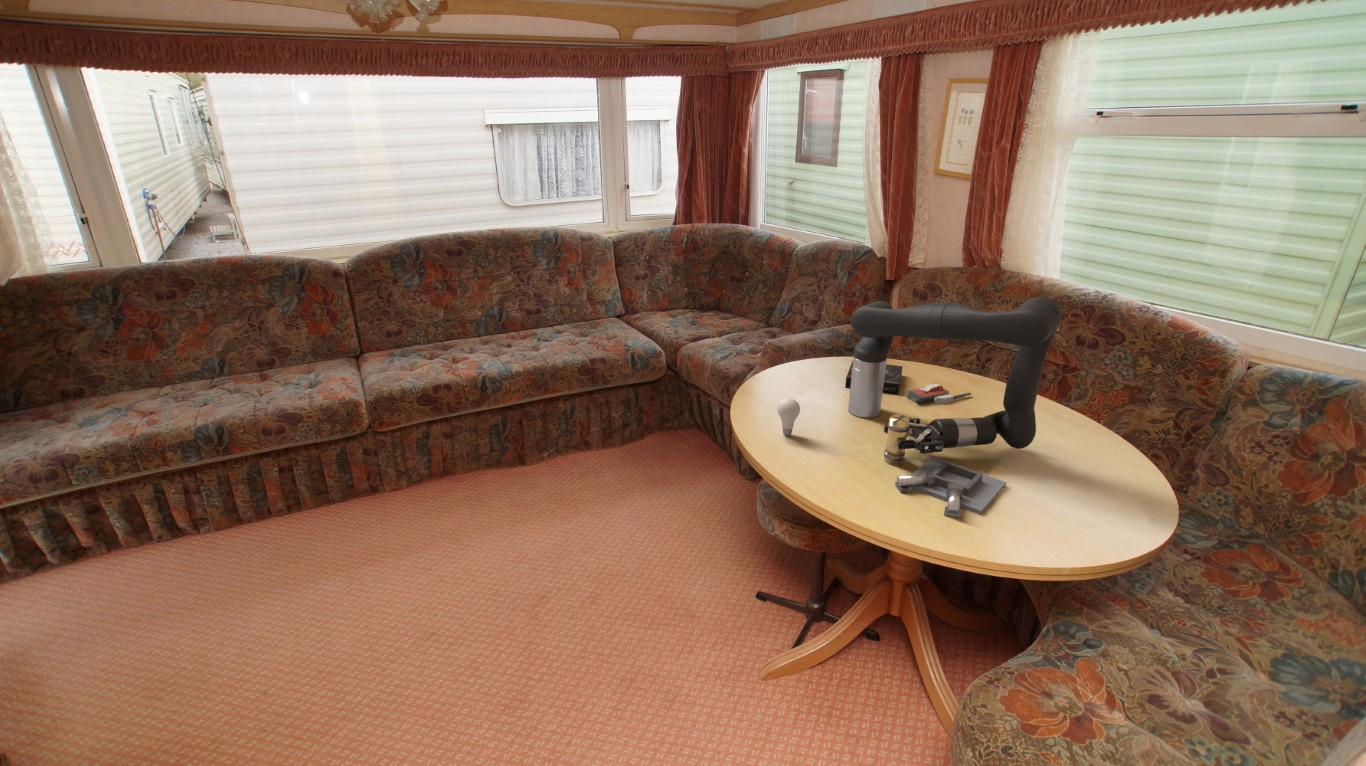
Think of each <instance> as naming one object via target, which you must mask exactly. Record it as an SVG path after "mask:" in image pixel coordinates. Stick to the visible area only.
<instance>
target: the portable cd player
mask: <svg viewBox="0 0 1366 766" xmlns="http://www.w3.org/2000/svg"><path fill="white" fill-rule="evenodd" d="M852 368H853V360H852V362H851V364H850V365H849V369H848V372H847V375H846V377H845V387H844V388H845V389H850V387H851V377H852ZM902 375H903V366H902V365H895V364H887V363H886V370H885V378H884V386H883V394H889V395H896V396H897V395H899V392H900V388H901V387H900V386H901V381H902Z"/></svg>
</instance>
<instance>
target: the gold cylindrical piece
mask: <svg viewBox="0 0 1366 766" xmlns="http://www.w3.org/2000/svg"><path fill="white" fill-rule="evenodd" d="M909 418H910V417H908V416H906V415H903V414H891V415H890V416H889V421H888V423H887V424H888V433H887V434H886V435H887V436H886V444H885V449H884V454H883V456H884V462H885V463H887V464H888V465H891V466H900V465H903V463H904V459H905V458H906V457H905V456H906V452H905V450H906V449H899V448H898V441H899V440H908V439H907V438H908V436H907V432H908V430H909Z"/></svg>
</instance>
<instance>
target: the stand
mask: <svg viewBox="0 0 1366 766" xmlns="http://www.w3.org/2000/svg"><path fill="white" fill-rule="evenodd" d="M923 470H930V471H931V472H932V473H933V474H934V476H935V477H936V479H935V485H934V487H927V486H926V485H913V486H908V487H909V488H912V489H913V490H916V491H919V492H921V493H923V494H927V495H930V496H931V497H934V498H937V499H939V500H941V501H944V502H947V503H948V497H946V493H947V488H948V483H951V484H956V485H961V486H963V493H962V499H961V500H960V507H959V508H962V509H964V510H967V511H970V512H972V513H975V514H978V515H980V516H981V514H983V512H984V511H985V510H986V509H987V508H988V507H989V506H990V504H992V502H993V501H994V500H995V499H996V498H997V497H998V495H999V494H1000V493H1001V492H1002V491H1003V490H1004V489H1005V488H1006V486H1007V481H1004V480H1001V479H999V478H995V477H993V476H990V475H987V474H984V473H981V472H979V471H976V470H973V469H969V468H968V467H964V466H961V465H958V464H956V463H953V462H950V461H947V460H945V459H944V460H943V459H941V458H939V457H935V456H931V457H930V458H929V459H927V460H926V461H925V462H924V463H923V464H922V465H921V466H919V468H917V469H916V470H915V471H914V472H913V473H912V474H911V475H922V474H923ZM1005 485H1006V486H1005ZM1003 488H1004V489H1003ZM1002 489H1003V490H1002ZM1001 490H1002V491H1001ZM1000 491H1001V492H1000ZM999 492H1000V493H999ZM995 497H996V498H995ZM994 498H995V499H994ZM993 499H994V500H993ZM988 505H989V506H988Z"/></svg>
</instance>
